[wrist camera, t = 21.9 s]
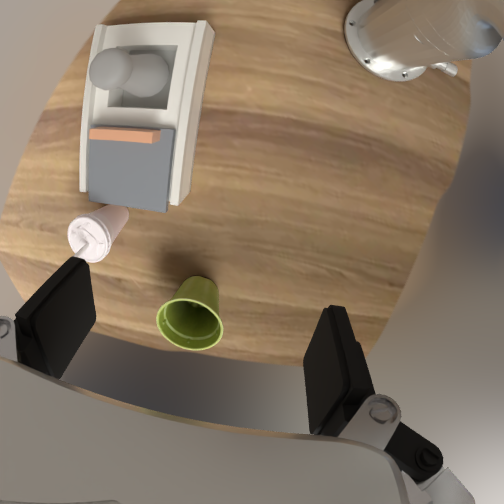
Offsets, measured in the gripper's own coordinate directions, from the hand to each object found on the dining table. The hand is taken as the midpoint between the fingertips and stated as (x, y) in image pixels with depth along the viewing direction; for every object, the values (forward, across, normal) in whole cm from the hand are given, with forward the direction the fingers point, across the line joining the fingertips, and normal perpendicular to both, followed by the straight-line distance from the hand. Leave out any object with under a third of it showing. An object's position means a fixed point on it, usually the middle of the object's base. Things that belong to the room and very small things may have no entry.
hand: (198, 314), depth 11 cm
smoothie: (+31, +18, +10) cm, 37 cm away
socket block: (+30, +14, -6) cm, 34 cm away
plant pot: (+31, +4, +21) cm, 37 cm away
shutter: (+25, +14, +1) cm, 29 cm away
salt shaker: (+30, +14, -10) cm, 34 cm away
